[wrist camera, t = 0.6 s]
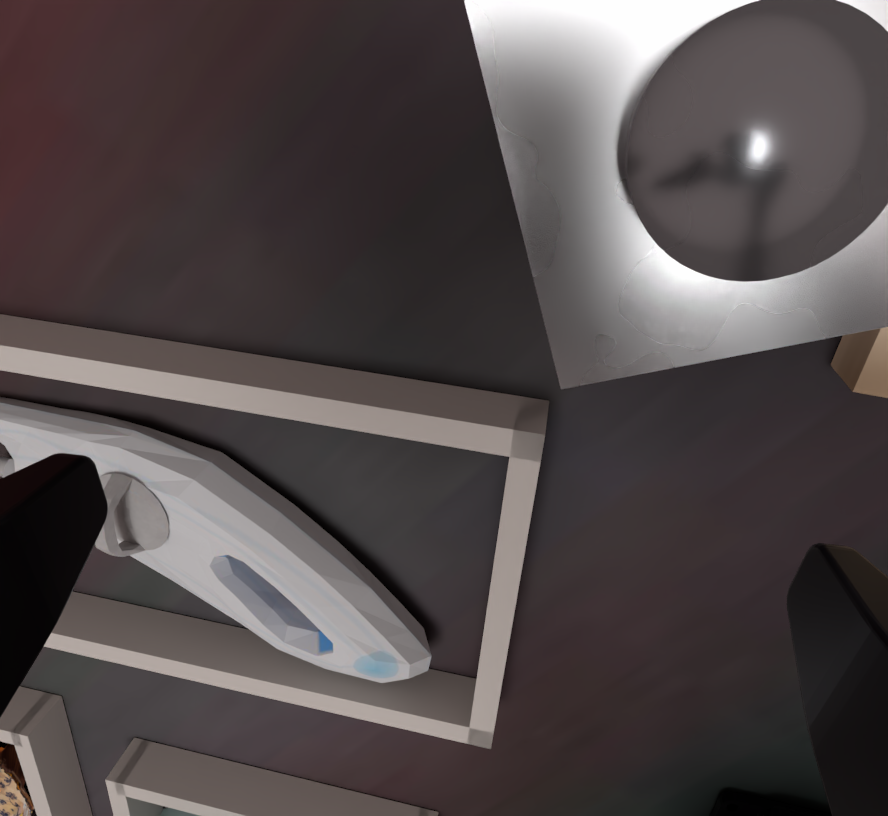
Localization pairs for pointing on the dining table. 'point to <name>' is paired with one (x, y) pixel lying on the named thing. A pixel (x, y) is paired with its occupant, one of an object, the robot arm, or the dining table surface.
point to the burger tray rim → (45, 752)
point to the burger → (13, 785)
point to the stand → (864, 362)
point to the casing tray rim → (320, 402)
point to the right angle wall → (175, 813)
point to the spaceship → (227, 541)
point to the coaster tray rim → (228, 788)
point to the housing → (693, 172)
